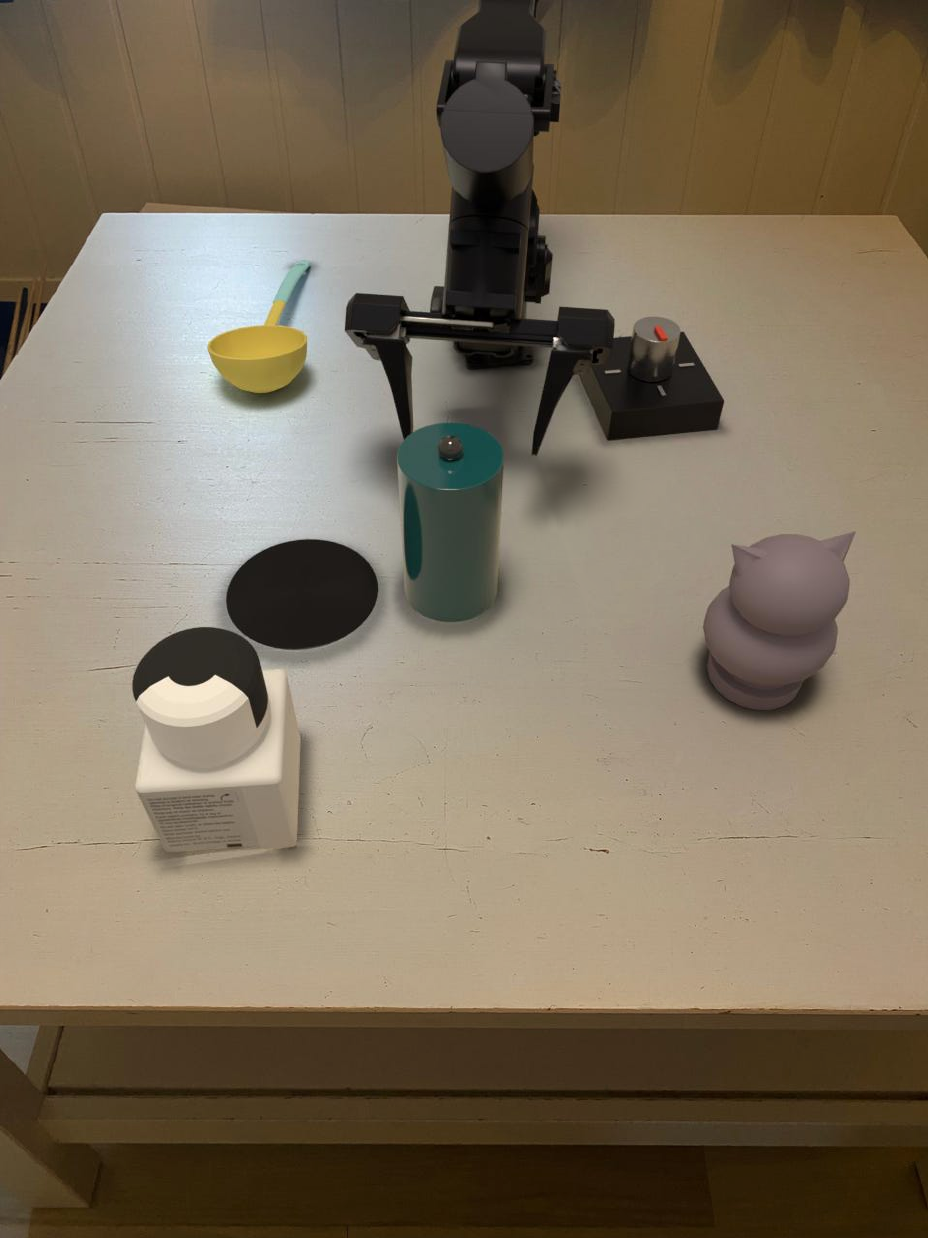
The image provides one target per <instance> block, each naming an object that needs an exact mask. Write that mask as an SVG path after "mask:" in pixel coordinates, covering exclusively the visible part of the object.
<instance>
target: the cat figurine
mask: <svg viewBox="0 0 928 1238" xmlns="http://www.w3.org/2000/svg"><path fill="white" fill-rule="evenodd" d="M856 533H857V531H852V532H851V531H850V532H848V533H844V534H840V535H836V536H833V537H829V538H825V539H821V540H819V539H817V538H814V537H812V536H808V535H804V534H798V533H781V534H776V535H771V536H767V537H764V538H763V539H760V540H759V541H756V542H755V543H752V544H751V545H749V546H746V545H740V544H734V543H733V544H732V543H731V544H730V545H731V550H732V556H733V561H734V564H733V566H732V570H731V573H730V576H729V581H728V586H726V587H724V588H723V589H722V590H721V591H720V592H719V593H718V594H717V595H716V596H715V597H714V599H712V600H711V602H710V603H709V605H708V607H707V608H706V612H705V616H704V620H703V623H702V630H703V635H704V640H705V644H706V645H705V646H706V648H707V649H708V651H709V655H708V659H707V663H706V670H707V674H708V678H709V680H710V682H711V684H712V686H713V687H714V688H715V690H716V691H718V693H720V695H722V696H723V697H724V698H725V699H726V700H728V701H730V702H732V703H734V704H736V705H738V706H739V707H743V708H747V709H750V710H753V711H772V710H776V709H779V708H782V707H785V706H786V705H788V704H789V703H791V702H792V701H794V699H795V698H796V696H797V694H799V691H800V689H801V687H802V685H803V683H804V681H805V680H806V679H808V678H810V677H811V676H813V675H815V674H816V673H818V672H819V671H820V670H821V669H823V668H824V667H825V666H826V664H827V662H828V661H829V660H830V658H831V657H832V655H833V654H834V653H835V650H836V647H837V640H838V633H839V628H838V624H837V622H836V618H837V617H838V616H839V615H840V613H841V611H843V609H844V608H845V606H846V604H847V602H848V599H849V592H850V584H851V582H850V581H851V580H850V576H849V573H848V571H847V567H846V564H845V563H844V561H845V560H846V557H847V555H848V552H849V549H850V547H851V545H852V542H853V541H854V538H855V535H856Z"/></svg>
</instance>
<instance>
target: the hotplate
mask: <svg viewBox="0 0 928 1238" xmlns="http://www.w3.org/2000/svg"><path fill="white" fill-rule="evenodd" d="M378 597H379V582H378V577H377V574H376V573H375V570H374V568H373V566H372V565H371V564H370V562H369V561H368V560H367V559H366V558H365V557H364V556H363V555H362V554H360V553H359V552H358V551H356V550H355V549H353V548H351V547H349V546H346V545H345V544H341V543H339V542H335V541H330V540H326V539H317V538H304V539H303V538H302V539H294V540H288V541H283V542H280V543H277V544H274V545H272V546H269V547H267V548H265V549H262V550H261V551H259V552H258V553H256V554H254V555H253V556H251V557H250V558H249V559H247V560H246V561H245V562H244V563H243V564H241V566H239V568H238V569H237V570H236V572H235V573H234V575H233V576H232V577H231V579H230V581H229V584H228V587H227V591H226V599H225V604H226V611H227V613H228V617H229V618H230V621H231V622H232V624H233V625H234V626H235V627H236V629H238V631H240V632H241V634H242V635H243V636H246V637H247V638H248V639H250V640H251V641H253V642H255V643H258V644H260V645H263V646H265V647H269V648H274V649H278V650H286V651H303V650H310V649H311V650H312V649H317V648H320V647H324V646H327V645H330V644H333V643H335V642H338V641H340V640H341V639H344V638H345V637H347V636H349V635H350V634H352V633H353V632H355V631H356V630H357V629H358V628H359V627H361V626H362V625H363V624H364V623H365V621H367V619H368V618H369V617H370V615H371V614H372V612H373V610H374V609H375V606H376V604H377V600H378Z"/></svg>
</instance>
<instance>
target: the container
mask: <svg viewBox="0 0 928 1238" xmlns="http://www.w3.org/2000/svg"><path fill="white" fill-rule="evenodd" d="M131 684H132V687H131V690H132V695H133V698H134V700H135V703H136V706H137V708H138V710H139V713H140V715H141V717H142V721H143V723H144V724H145V725H144V729H143V736H142V742H141V748H140V754H139V761H138V767H137V773H136V777H135V778H136V779H135V783H134V784H135V785H134V788H135V792H136V794H137V796H138V798H139V800H140V803H141V804H142V806H143V809H144V810H145V812H146V814H147V817H148V819H149V821H150V823H151V825H152V827H153V829H154V831H155V833H156V835H157V837H158V840H159V842H160V844H161V845H162V848H163V850H164V851H165V852H167V853H179V852H190V851H191V852H192V851H203V850H204V851H206V850H218V849H219V850H220V849H226V850H221V851H219V853H226V852H227V853H228V852H241V851H254V850H257V851H258V850H270V849H285V848H292V847H295V846H296V845H297V844H298V839H297V838H298V826H299V825H298V823H299V798H300V797H299V793H300V768H301V766H300V765H301V764H300V763H301V734H300V730H299V724H298V720H297V715H296V711H295V706H294V701H293V696H292V692H291V688H290V683H289V678H288V673H287V672H286V670H284V669H282V668H273V669H270V668H269V669H263V668H262V665H261V660H260V658H259V654H258V652H257V650H256V648H254V646H253V645H252V644H251V642H250V641H249V640H248V639H246V638H245V637H243V636H242V635H241V634H238V633H236V632H234V631H231V630H229V629H226V628H225V629H224V628H220V627H214V626H200V627H199V626H198V627H197V626H196V627H192V628H186V629H183V630H179V631H177V632H174V633H172V634H170V635H168V636H165V637H164V638H162V639H161V640H159V641H158V642H157V643H155V644H154V645H153V646H152V647H151V648H150V649H149V650H148V651H147V652H146V653H145V654H144V656H143V657H142V658H141V660H140V661H139V662H138V664H137V666H136V668H135V670H134V674H133V676H132V682H131ZM231 848H232V849H231ZM234 848H235V849H234ZM236 848H237V849H236ZM212 853H213V854H214V853H216V851H214V852H212Z"/></svg>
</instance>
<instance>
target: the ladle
mask: <svg viewBox="0 0 928 1238" xmlns="http://www.w3.org/2000/svg"><path fill="white" fill-rule="evenodd" d="M311 264H312V263H311V261H309V260H305V259H304V260H303V259H302V260H299V261H297V262H296V263H295V264H294V265H293V266H292V267H291V268H290V270H288V272H287V273H286V274H285V276H284V278H283V280H282V282H281V284H280V285H279V287H278V290H277V292H276V294H275V297H274V299H273V301H272V306H271V308H270V310H269V312H268V314H267V317H266V320H265V322H264V324H263V325H250V326H244V327H237V328H234V329H230V330H228V331H227V330H226V331H224V332H222V333H220V334H217V335H216V336H214V337H213V338H212V339H210V340H209V341H208V344H207V346H206V348H207V351H208V354H209V357H210V359H211V362H212V364H213V366H214V367H215V370H217V372H218V373H219V374H220V375H221V377H222V378H223V379H224V380H225V381H227V382H228V383H230V384H231V385H232V386H234V387H236V388H237V389H239V390H240V391H241V390H242V391H246V392H251V393H256V394H267V393H271V392H275V391H277V390H280V389H282V388H285V387H286V386H287V385H290V383H291V382H292V381H293V380H294V379H295V378H296V377H297V376H298V375H299V373H300V372H302V370H303V367H304V364H305V362H306V359H307V356H308V355H307V353H308V336H307V335H306V334H305V332H304V331H302V330H300V329H297V328H296V327H292V326H285V325H278V323H279V320H280V319H281V316H282V314H283V311H284V309H285V307H286V305H287V304H288V301H289V299H290V297H291V294H292V292H293V291H294V289H295V288H296V286H297V284H298V282H299V280H300V279H301V277H302V275H304V273H305V272H306V271H307V270H308V268H309V267H310V266H311Z"/></svg>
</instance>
